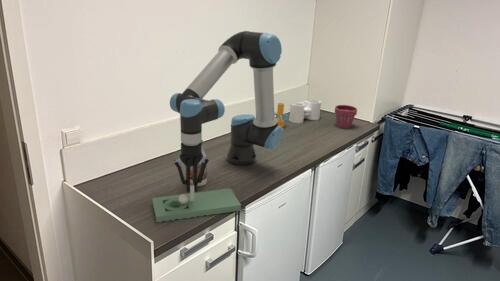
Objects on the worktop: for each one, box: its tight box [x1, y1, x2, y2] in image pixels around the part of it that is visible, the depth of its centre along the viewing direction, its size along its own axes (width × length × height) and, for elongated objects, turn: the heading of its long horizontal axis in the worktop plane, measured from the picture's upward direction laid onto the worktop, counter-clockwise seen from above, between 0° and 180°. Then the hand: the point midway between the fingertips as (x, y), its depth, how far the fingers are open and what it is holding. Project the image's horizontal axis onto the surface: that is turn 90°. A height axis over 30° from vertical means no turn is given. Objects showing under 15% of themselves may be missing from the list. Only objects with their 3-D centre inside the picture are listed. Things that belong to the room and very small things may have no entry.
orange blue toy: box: [274, 102, 289, 128], centre depth 245 cm, size 12×10×15 cm
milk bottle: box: [190, 139, 208, 187], centre depth 164 cm, size 8×8×20 cm
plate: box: [151, 187, 242, 223], centre depth 148 cm, size 32×14×2 cm, turn 110°
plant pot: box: [334, 104, 358, 129], centre depth 251 cm, size 14×14×13 cm
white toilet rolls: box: [288, 98, 322, 124], centre depth 262 cm, size 25×10×12 cm, turn 129°
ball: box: [179, 193, 188, 204], centre depth 145 cm, size 4×4×4 cm
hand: (191, 199), depth 147 cm, fingers closed
